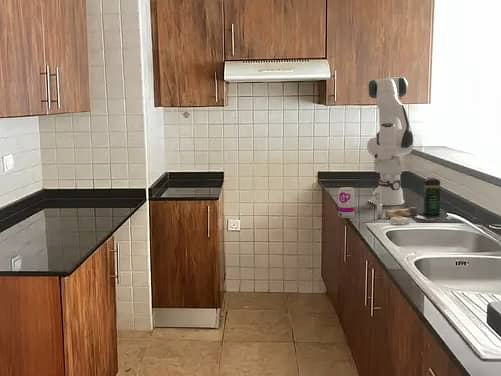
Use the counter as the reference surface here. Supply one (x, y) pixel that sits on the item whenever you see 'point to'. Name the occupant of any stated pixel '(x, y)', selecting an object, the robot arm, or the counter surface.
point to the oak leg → (401, 212)
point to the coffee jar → (432, 196)
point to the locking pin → (379, 211)
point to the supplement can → (346, 202)
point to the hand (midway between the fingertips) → (388, 182)
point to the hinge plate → (420, 217)
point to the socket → (399, 220)
